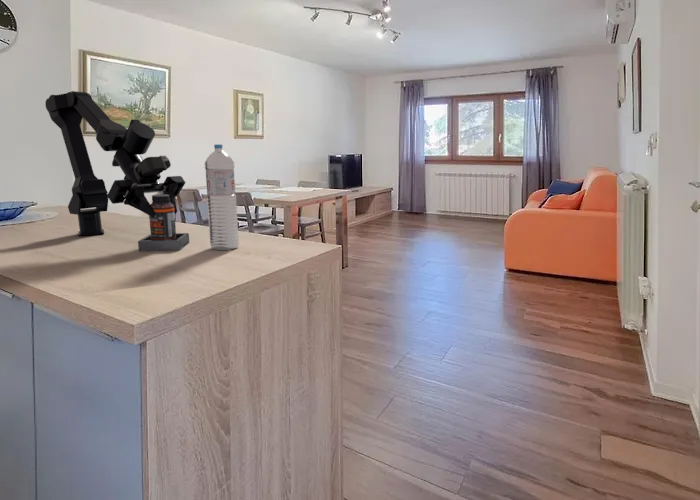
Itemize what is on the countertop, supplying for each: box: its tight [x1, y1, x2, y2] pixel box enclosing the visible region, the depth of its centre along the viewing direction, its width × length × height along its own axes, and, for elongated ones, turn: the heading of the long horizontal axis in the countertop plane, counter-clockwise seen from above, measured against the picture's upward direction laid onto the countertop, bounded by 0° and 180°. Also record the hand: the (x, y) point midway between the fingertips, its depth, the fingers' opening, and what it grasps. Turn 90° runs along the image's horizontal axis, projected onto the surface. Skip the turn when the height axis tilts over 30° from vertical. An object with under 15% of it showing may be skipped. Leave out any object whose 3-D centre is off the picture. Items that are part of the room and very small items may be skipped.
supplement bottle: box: [148, 193, 177, 240], centre depth 120 cm, size 6×6×11 cm
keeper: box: [137, 232, 190, 252], centre depth 121 cm, size 10×10×2 cm
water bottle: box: [204, 143, 240, 251], centre depth 117 cm, size 7×7×25 cm
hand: (165, 214), depth 119 cm, fingers closed on supplement bottle, 6 cm apart
